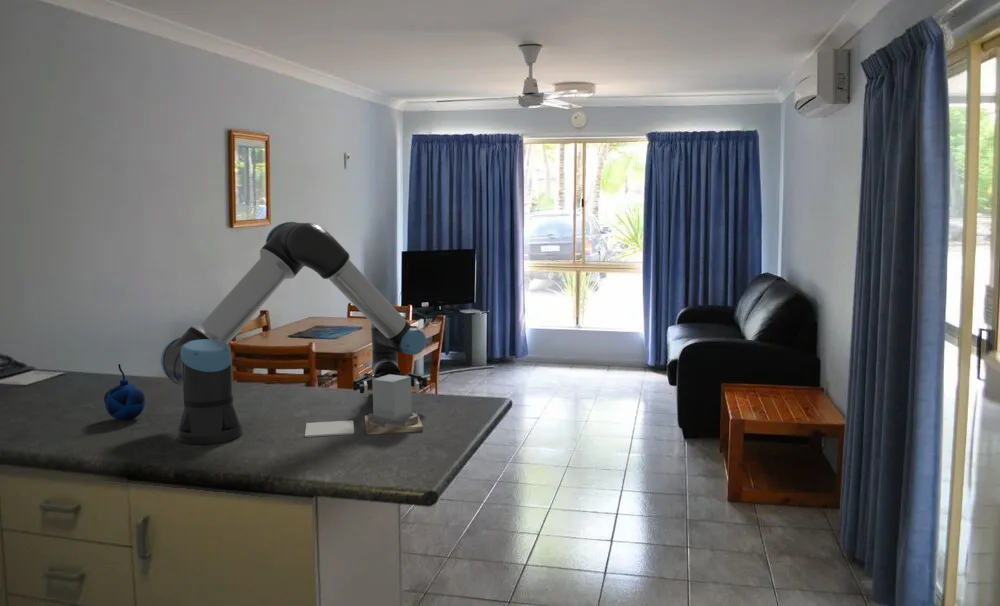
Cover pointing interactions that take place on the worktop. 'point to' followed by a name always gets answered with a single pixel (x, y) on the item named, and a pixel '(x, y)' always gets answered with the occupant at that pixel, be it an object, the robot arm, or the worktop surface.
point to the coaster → (329, 428)
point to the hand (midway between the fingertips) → (392, 390)
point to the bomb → (124, 400)
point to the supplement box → (392, 397)
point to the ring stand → (393, 424)
